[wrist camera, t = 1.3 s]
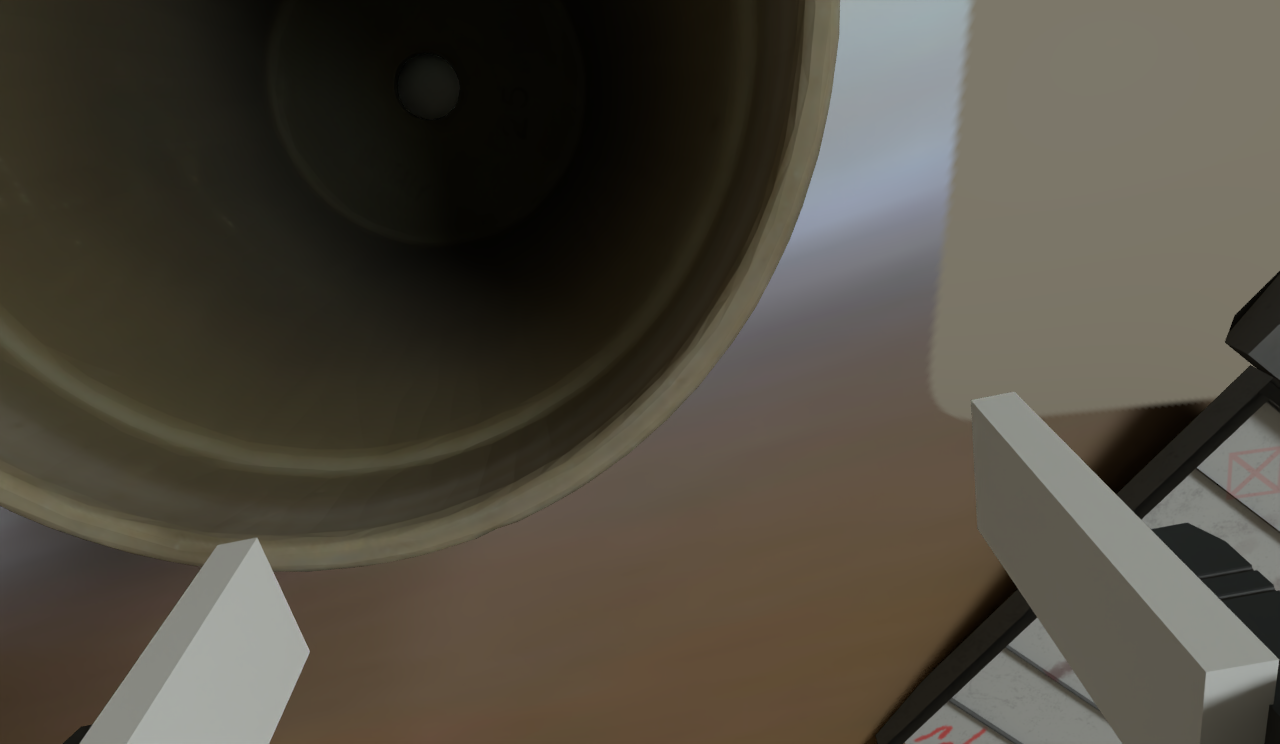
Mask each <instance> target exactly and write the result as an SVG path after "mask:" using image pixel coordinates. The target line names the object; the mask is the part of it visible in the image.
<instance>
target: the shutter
mask: <svg viewBox="0 0 1280 744" xmlns="http://www.w3.org/2000/svg"><path fill="white" fill-rule="evenodd" d="M1225 343H1226V344H1228V345H1229V346H1230V347H1231V348H1233V349H1234V350H1235V351H1236V352H1238V353H1239V354H1240V355H1241V356H1242V357H1244V358H1245V359H1246V360H1247V361H1249V362H1250V363H1251V364H1252V365H1253V366H1255V367H1256V368H1257V369H1256V368H1255V367H1253V366H1251V365H1250V366H1249V367H1248V368H1247V369H1246V370H1245V371H1244V372H1243V373H1242V374H1241V375H1240V376H1239V377H1238V378H1237V379H1236V380H1235V381H1234V382H1232V383H1231V384H1230V385H1229V386H1228V387H1227V388H1226V389H1225V390H1224V391H1223V392H1222V393H1221V394H1220V395H1219V396H1218V397H1217V398H1216V399H1215V400H1214V401H1213V402H1212V403H1211V404H1210V405H1209V406H1208V407H1206V408H1205V409H1204V410H1203V411H1202V412H1201V413H1200V414H1199V415H1198V416H1197V417H1196V418H1195V419H1194V420H1193V421H1192V422H1191V423H1190V424H1189V425H1188V426H1187V427H1186V428H1185V429H1184V430H1183V431H1182V432H1181V433H1179V434H1178V435H1177V436H1176V437H1175V438H1174V439H1173V440H1172V441H1171V442H1170V443H1169V444H1168V445H1167V446H1166V447H1165V448H1164V449H1163V450H1162V451H1161V452H1160V453H1159V454H1158V455H1157V456H1156V457H1155V458H1154V459H1152V460H1151V461H1150V462H1149V463H1148V464H1147V465H1146V466H1145V467H1144V468H1143V469H1142V470H1141V471H1140V472H1139V473H1138V474H1137V475H1136V476H1135V477H1134V478H1133V479H1132V480H1131V481H1130V482H1129V483H1128V484H1126V485H1125V486H1124V487H1123V488H1122V489H1121V490H1120V491H1119V492H1118V493H1117V494H1116V495H1117V496H1118V497H1119V498H1120V499H1121V500H1122V501H1123V502H1124V503H1125V504H1126V505H1127V506H1128V507H1129V508H1130V509H1131V510H1132V511H1133V512H1134V513H1135V514H1136V515H1137V516H1138V517H1139V518H1140V519H1141V520H1142V521H1143V522H1144V523H1145V524H1146V525H1147V526H1148V527H1149V528H1150V529H1154V528H1160V527H1165V526H1171V525H1176V524H1182V523H1190V524H1192V525H1194V526H1196V527H1198V528H1200V529H1202V530H1204V531H1206V532H1208V533H1210V534H1212V535H1214V536H1216V537H1218V538H1220V539H1222V540H1224V541H1226V542H1227V543H1228V544H1229V545H1230V546H1231V547H1233V548H1234V549H1235V550H1236V551H1237V552H1238V553H1239V554H1240V555H1241V556H1242V557H1244V558H1245V559H1246V560H1247V561H1248V562H1249V563H1250V564H1251V565H1252V568H1253V570H1258V571H1259V572H1260V573H1261V574H1262V575H1263V576H1264V577H1266V578H1267V579H1268V580H1269V581H1270V582H1271V583H1272V584H1273V585H1274V588H1275V590H1276V591H1278V590H1280V533H1279V532H1278V531H1280V271H1279V272H1278V273H1277V274H1276V275H1275V276H1274V277H1273V278H1272V279H1271V280H1270V281H1269V282H1268V283H1267V284H1266V285H1265V286H1264V287H1263V288H1262V289H1261V290H1260V291H1259V292H1258V293H1257V294H1256V295H1255V296H1254V297H1253V298H1252V299H1251V300H1250V301H1249V302H1248V303H1246V304H1245V306H1243V307H1242V308H1241V310H1240V311H1238V312H1237V313H1236V314H1235V316H1234V318H1233V321H1232V324H1231V327H1230V329H1229V332H1228V335H1227V338H1226V341H1225ZM1196 468H1197V469H1199V470H1200V471H1201V472H1203V473H1204V474H1205V475H1207V476H1208V477H1209V478H1210V479H1212V480H1213V481H1214V482H1216V483H1217V484H1218V485H1220V486H1221V487H1222V488H1224V489H1225V490H1226V491H1227V492H1229V493H1230V494H1231V495H1233V496H1234V497H1235V498H1237V499H1238V500H1239V501H1240V502H1242V503H1243V504H1244V505H1246V506H1247V507H1248V508H1250V509H1251V510H1252V511H1253V512H1255V513H1256V514H1257V515H1259V516H1260V517H1261V518H1263V519H1264V520H1265V521H1267V522H1268V523H1269V524H1270V525H1272V526H1273V527H1274V528H1276V529H1277V530H1278V531H1277V530H1275V529H1274V528H1273V527H1272V526H1270V525H1269V524H1268V523H1266V522H1265V521H1264V520H1262V519H1261V518H1260V517H1259V516H1257V515H1256V514H1255V513H1253V512H1252V511H1251V510H1249V509H1248V508H1247V507H1245V506H1244V505H1243V504H1242V503H1240V502H1239V501H1238V500H1236V499H1235V498H1234V497H1232V496H1231V495H1230V494H1229V493H1227V492H1226V491H1225V490H1223V489H1222V488H1221V487H1219V486H1218V485H1217V484H1215V483H1214V482H1213V481H1212V480H1210V479H1209V478H1208V477H1206V476H1205V475H1204V474H1202V473H1201V472H1200V471H1199V470H1197V469H1196ZM875 736H876V739H877V743H878V744H903V743H906V744H1122V742H1121V741H1120V740H1119V738H1118V737H1117V735H1116V734H1115V732H1114V731H1113V729H1112V728H1111V726H1110V725H1109V723H1108V722H1107V720H1106V719H1105V717H1104V716H1103V714H1102V713H1101V711H1100V710H1099V708H1098V707H1097V705H1096V704H1095V702H1094V701H1093V699H1092V698H1091V696H1090V695H1089V693H1088V692H1087V691H1086V689H1085V688H1084V686H1083V685H1082V683H1081V682H1080V680H1079V679H1078V677H1077V676H1076V674H1075V673H1074V671H1073V670H1072V668H1071V667H1070V665H1069V664H1068V662H1067V661H1066V659H1065V658H1064V656H1063V655H1062V653H1061V652H1060V650H1059V649H1058V647H1057V646H1056V644H1055V643H1054V641H1053V640H1052V639H1051V637H1050V636H1049V634H1048V633H1047V631H1046V630H1045V628H1044V627H1043V625H1042V624H1041V622H1040V621H1039V619H1038V618H1037V616H1036V615H1035V613H1034V612H1033V610H1032V609H1031V607H1030V606H1029V604H1028V603H1027V601H1026V600H1025V598H1024V597H1023V595H1022V594H1021V592H1020V591H1019V590H1018V589H1017V590H1016V591H1015V592H1014V593H1013V594H1012V595H1011V596H1010V597H1009V598H1008V599H1007V600H1006V601H1005V602H1004V603H1003V604H1002V605H1001V606H1000V607H999V608H998V609H997V610H996V611H995V612H994V613H992V614H991V615H990V616H989V617H988V618H987V619H986V620H985V621H984V622H983V623H982V624H981V625H980V626H979V627H978V628H977V629H976V630H975V631H974V632H973V633H972V634H971V635H970V636H969V637H968V638H966V639H965V640H964V641H963V642H962V643H961V644H960V645H959V646H958V647H957V648H956V649H955V650H954V651H953V652H952V653H951V654H950V655H949V656H948V657H947V658H946V659H945V660H944V661H943V662H942V663H941V664H939V665H938V666H937V667H936V668H935V669H934V670H933V671H932V672H931V673H930V674H929V675H928V676H927V677H926V678H925V679H924V680H923V681H922V682H921V683H920V684H919V685H918V687H917V688H916V689H915V690H914V691H913V692H912V694H911V695H910V696H909V697H908V698H907V699H906V701H905V702H904V703H903V704H902V705H901V706H900V707H899V709H898V710H897V711H896V712H895V713H894V714H893V716H892V717H891V718H890V719H889V720H888V721H887V723H886V724H885V725H884V726H883V727H882V728H881V730H880V731H879V732H878V733H877V734H876V735H875Z"/></svg>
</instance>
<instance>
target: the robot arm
mask: <svg viewBox="0 0 1280 744" xmlns="http://www.w3.org/2000/svg"><path fill="white" fill-rule="evenodd" d="M971 411H972V431H973V451H974V470H975V490H976V510H977V529H978V530H979V532H980V533H981V535H982V536H983V538H984V539H985V540H986V542H987V543H988V545H989V546H990V548H991V549H992V551H993V552H994V554H995V555H996V557H997V558H998V560H999V561H1000V563H1001V564H1002V566H1003V567H1004V569H1005V570H1006V572H1007V573H1008V575H1009V576H1010V578H1011V579H1012V581H1013V582H1014V584H1015V585H1016V587H1017V588H1018V590H1019V591H1020V592H1021V594H1022V595H1023V597H1024V598H1025V600H1026V601H1027V603H1028V604H1029V606H1030V607H1031V609H1032V610H1033V612H1034V613H1035V615H1036V616H1037V618H1038V619H1039V621H1040V622H1041V624H1042V625H1043V627H1044V628H1045V630H1046V631H1047V633H1048V634H1049V636H1050V637H1051V639H1052V640H1053V641H1054V643H1055V644H1056V646H1057V647H1058V649H1059V650H1060V652H1061V653H1062V655H1063V656H1064V658H1065V659H1066V661H1067V662H1068V664H1069V665H1070V667H1071V668H1072V670H1073V671H1074V673H1075V674H1076V676H1077V677H1078V679H1079V680H1080V682H1081V683H1082V685H1083V686H1084V688H1085V689H1086V691H1087V692H1088V693H1089V695H1090V696H1091V698H1092V699H1093V701H1094V702H1095V704H1096V705H1097V707H1098V708H1099V710H1100V711H1101V713H1102V714H1103V716H1104V717H1105V719H1106V720H1107V722H1108V723H1109V725H1110V726H1111V728H1112V729H1113V731H1114V732H1115V734H1116V735H1117V737H1118V738H1119V740H1120V741H1121V742H1122V744H1280V590H1278V591H1276V590H1275V588H1274V585H1273V584H1272V583H1271V582H1270V581H1269V580H1268V579H1267V578H1266V577H1264V576H1263V575H1262V574H1261V573H1260V572H1259V571H1258V570H1253V568H1252V565H1251V564H1250V563H1249V562H1248V561H1247V560H1246V559H1245V558H1244V557H1242V556H1241V555H1240V554H1239V553H1238V552H1237V551H1236V550H1235V549H1234V548H1233V547H1231V546H1230V545H1229V544H1228V543H1227V542H1226V541H1224V540H1222V539H1220V538H1218V537H1216V536H1214V535H1212V534H1210V533H1208V532H1206V531H1204V530H1202V529H1200V528H1198V527H1196V526H1194V525H1192V524H1190V523H1182V524H1176V525H1171V526H1165V527H1160V528H1154V529H1150V528H1149V527H1148V526H1147V525H1146V524H1145V523H1144V522H1143V521H1142V520H1141V519H1140V518H1139V517H1138V516H1137V515H1136V514H1135V513H1134V512H1133V511H1132V510H1131V509H1130V508H1129V507H1128V506H1127V505H1126V504H1125V503H1124V502H1123V501H1122V500H1121V499H1120V498H1119V497H1118V496H1117V495H1116V494H1115V493H1114V492H1113V491H1112V490H1111V489H1110V488H1109V487H1108V486H1107V485H1106V484H1105V483H1104V482H1103V481H1102V480H1101V479H1100V478H1099V477H1098V476H1097V475H1096V474H1095V473H1094V472H1093V471H1092V470H1091V469H1090V468H1089V467H1088V466H1087V465H1086V464H1085V463H1084V461H1083V460H1082V459H1081V458H1080V457H1079V456H1078V455H1077V454H1076V453H1075V452H1074V451H1073V450H1072V449H1071V448H1070V447H1069V446H1068V445H1067V444H1066V443H1065V442H1064V441H1063V440H1062V439H1061V438H1060V437H1059V436H1058V435H1057V434H1056V433H1055V432H1054V431H1053V430H1052V429H1051V428H1050V427H1049V426H1048V425H1047V424H1046V423H1045V422H1044V421H1043V420H1042V419H1041V418H1040V417H1039V416H1038V415H1037V414H1036V413H1035V412H1034V411H1033V410H1032V409H1031V408H1030V407H1029V406H1028V405H1027V404H1026V403H1025V402H1024V401H1023V400H1022V399H1021V398H1020V397H1019V396H1018V395H1017V394H1016V393H1015V392H1011V393H1005V394H1001V395H995V396H990V397H985V398H979V399H974V400H971ZM309 653H310V651H309V649H308V646H307V644H306V642H305V640H304V638H303V636H302V633H301V631H300V629H299V627H298V625H297V623H296V620H295V618H294V616H293V614H292V612H291V610H290V607H289V605H288V603H287V601H286V599H285V597H284V594H283V592H282V590H281V588H280V586H279V584H278V581H277V579H276V577H275V575H274V573H273V571H272V568H271V566H270V564H269V562H268V560H267V558H266V555H265V553H264V551H263V549H262V547H261V545H260V542H259V540H258V538H252V539H247V540H241V541H236V542H231V543H226V544H221V545H217V547H216V548H215V549H214V551H213V552H212V554H211V555H210V557H209V558H208V559H207V561H206V562H205V564H204V565H203V567H202V568H201V570H200V571H199V572H198V574H197V575H196V577H195V578H194V580H193V581H192V582H191V584H190V585H189V587H188V588H187V590H186V591H185V593H184V594H183V595H182V597H181V598H180V600H179V601H178V603H177V604H176V605H175V607H174V608H173V610H172V611H171V613H170V614H169V616H168V617H167V618H166V620H165V621H164V623H163V624H162V626H161V627H160V628H159V630H158V631H157V633H156V634H155V636H154V637H153V639H152V640H151V641H150V643H149V644H148V646H147V647H146V649H145V650H144V652H143V653H142V654H141V656H140V657H139V659H138V660H137V662H136V663H135V664H134V666H133V667H132V669H131V670H130V672H129V673H128V675H127V676H126V677H125V679H124V680H123V682H122V683H121V685H120V686H119V687H118V689H117V690H116V692H115V693H114V695H113V696H112V698H111V699H110V700H109V702H108V703H107V705H106V706H105V708H104V709H103V710H102V712H101V713H100V715H99V716H98V718H97V719H96V721H95V722H94V723H93V725H88V726H83V727H80V728H79V729H78V730H77V731H76V732H75V733H74V734H73V735H72V736H71V737H69V738H68V739H67V740H66V741H65V742H64V743H63V744H269V742H270V740H271V738H272V736H273V734H274V731H275V729H276V727H277V725H278V722H279V720H280V718H281V716H282V713H283V711H284V709H285V707H286V704H287V702H288V700H289V698H290V695H291V693H292V691H293V689H294V686H295V684H296V682H297V680H298V678H299V675H300V673H301V671H302V669H303V666H304V664H305V662H306V660H307V657H308V655H309Z"/></svg>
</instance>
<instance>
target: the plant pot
mask: <svg viewBox="0 0 1280 744" xmlns="http://www.w3.org/2000/svg"><path fill="white" fill-rule="evenodd" d="M839 19H840V0H0V506H2V507H4V508H6V509H8V510H10V511H12V512H14V513H16V514H18V515H21V516H23V517H26V518H28V519H30V520H33V521H35V522H38V523H40V524H42V525H45V526H47V527H50V528H52V529H55V530H58V531H61V532H64V533H67V534H70V535H73V536H76V537H78V538H81V539H84V540H87V541H91V542H94V543H98V544H101V545H104V546H108V547H111V548H115V549H118V550H122V551H125V552H129V553H133V554H137V555H142V556H146V557H151V558H155V559H160V560H165V561H169V562H175V563H182V564H188V565H194V566H201V567H203V565H204V564H205V562H206V561H207V559H208V558H209V557H210V555H211V554H212V552H213V551H214V549H215V548H216V547H217V545H221V544H226V543H231V542H236V541H241V540H247V539H252V538H258V540H259V542H260V545H261V547H262V549H263V551H264V553H265V555H266V558H267V560H268V562H269V564H270V566H271V568H272V571H285V572H309V571H320V570H331V569H342V568H352V567H362V566H368V565H375V564H381V563H388V562H392V561H397V560H402V559H406V558H411V557H416V556H421V555H425V554H429V553H432V552H435V551H439V550H442V549H445V548H448V547H451V546H455V545H458V544H461V543H464V542H467V541H470V540H474V539H477V538H479V537H481V536H483V535H485V534H487V533H489V532H491V531H493V530H495V529H497V528H500V527H503V526H506V525H509V524H512V523H516V522H518V521H520V520H522V519H524V518H526V517H528V516H530V515H532V514H534V513H536V512H538V511H540V510H542V509H544V508H546V507H548V506H549V505H551V504H553V503H555V502H557V501H558V500H560V499H562V498H564V497H566V496H567V495H569V494H571V493H573V492H574V491H576V490H577V489H579V488H581V487H582V486H584V485H585V484H587V483H588V482H590V481H591V480H593V479H594V478H596V477H597V476H598V475H600V474H601V473H602V472H604V471H605V470H607V469H608V468H609V467H611V466H612V465H613V464H615V463H616V462H618V461H619V460H620V459H622V458H623V457H625V456H626V455H627V454H629V453H630V452H631V451H632V450H633V449H635V448H636V447H637V446H638V445H639V444H640V443H641V442H642V441H644V440H645V439H646V438H647V437H648V436H649V435H650V434H651V433H653V432H654V431H655V430H656V429H657V428H658V427H659V426H661V425H662V424H663V423H664V422H665V421H666V420H667V419H668V418H669V417H670V416H671V415H672V414H673V413H674V412H675V411H676V410H677V409H678V408H679V406H680V405H681V404H682V403H683V402H684V401H685V400H686V399H687V398H688V397H689V396H690V395H691V394H692V393H693V392H694V391H695V390H696V389H697V387H698V386H699V385H700V384H701V382H702V381H703V380H704V379H705V377H706V376H707V375H708V373H709V372H710V371H711V370H712V368H713V367H714V366H715V364H716V363H717V362H718V361H719V359H720V358H721V357H722V355H723V354H724V353H725V352H726V350H727V349H728V348H729V346H730V345H731V344H732V343H733V341H734V340H735V338H736V337H737V335H738V334H739V332H740V330H741V329H742V327H743V326H744V324H745V323H746V321H747V320H748V318H749V317H750V315H751V314H752V312H753V311H754V309H755V307H756V306H757V304H758V302H759V300H760V298H761V296H762V294H763V292H764V290H765V289H766V287H767V285H768V283H769V281H770V279H771V277H772V275H773V273H774V271H775V269H776V267H777V265H778V263H779V261H780V259H781V257H782V255H783V253H784V250H785V248H786V246H787V244H788V242H789V240H790V237H791V235H792V232H793V230H794V227H795V224H796V222H797V219H798V216H799V214H800V211H801V209H802V206H803V203H804V200H805V197H806V193H807V190H808V187H809V184H810V181H811V178H812V174H813V171H814V168H815V165H816V162H817V158H818V155H819V151H820V146H821V142H822V137H823V133H824V128H825V124H826V119H827V115H828V109H829V104H830V98H831V93H832V86H833V78H834V71H835V63H836V55H837V48H838V40H839ZM425 53H430V54H435V55H438V56H440V57H442V58H443V59H445V60H446V61H447V62H448V63H449V64H450V65H451V66H452V67H453V69H454V70H455V71H456V74H457V77H458V79H459V83H460V92H459V100H458V102H457V104H456V106H455V108H454V109H453V110H452V111H451V112H450V113H449V114H448V115H446V116H444V117H442V118H440V119H436V120H425V119H420V118H417V117H416V116H414V115H413V114H411V113H409V112H408V111H407V110H406V109H405V107H404V106H403V105H402V103H401V101H400V99H399V96H398V92H397V79H398V76H399V72H400V70H401V68H402V67H403V65H404V64H405V63H406V62H407V61H408V60H409V59H410V58H412V57H414V56H416V55H418V54H425Z"/></svg>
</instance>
